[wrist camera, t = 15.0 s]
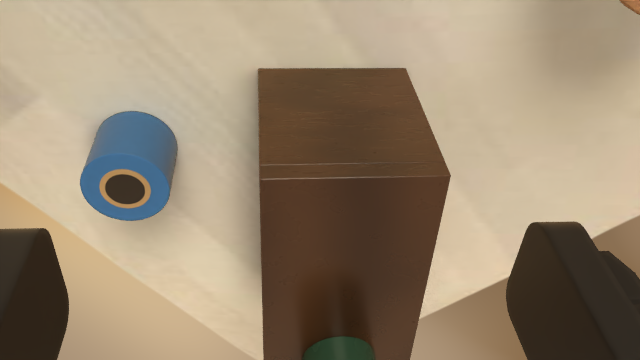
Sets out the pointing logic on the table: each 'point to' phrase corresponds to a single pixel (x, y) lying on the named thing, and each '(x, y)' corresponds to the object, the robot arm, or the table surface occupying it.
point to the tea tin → (340, 349)
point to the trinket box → (632, 5)
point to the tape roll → (130, 166)
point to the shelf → (345, 208)
